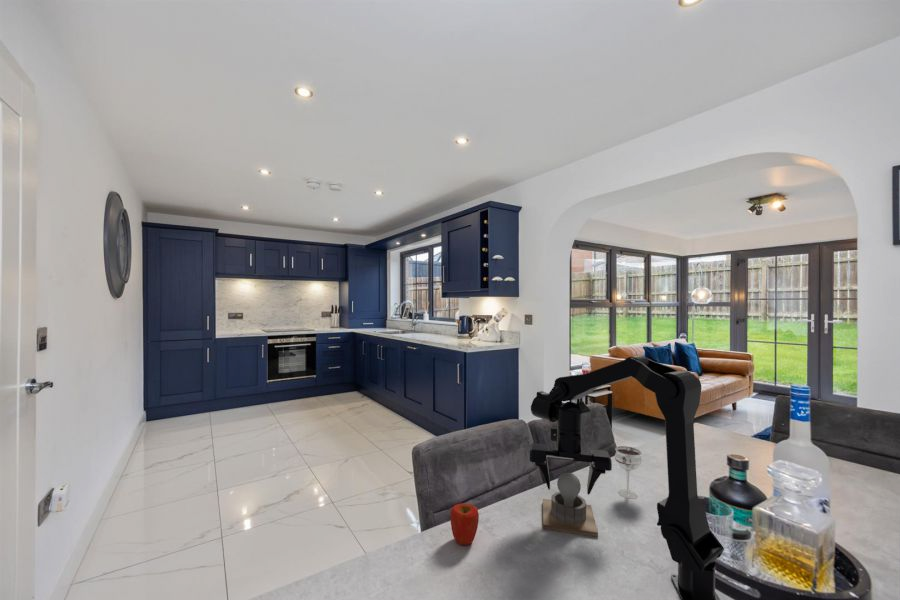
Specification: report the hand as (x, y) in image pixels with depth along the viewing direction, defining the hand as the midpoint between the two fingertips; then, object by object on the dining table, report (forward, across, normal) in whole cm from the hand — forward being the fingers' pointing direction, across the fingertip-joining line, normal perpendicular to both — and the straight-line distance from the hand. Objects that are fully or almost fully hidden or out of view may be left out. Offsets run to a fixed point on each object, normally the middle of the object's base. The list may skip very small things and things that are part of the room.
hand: (568, 491), depth 93 cm
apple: (+7, +23, +15) cm, 28 cm away
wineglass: (+7, -17, -17) cm, 25 cm away
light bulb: (+6, 0, 0) cm, 6 cm away
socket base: (+7, 0, 0) cm, 7 cm away
